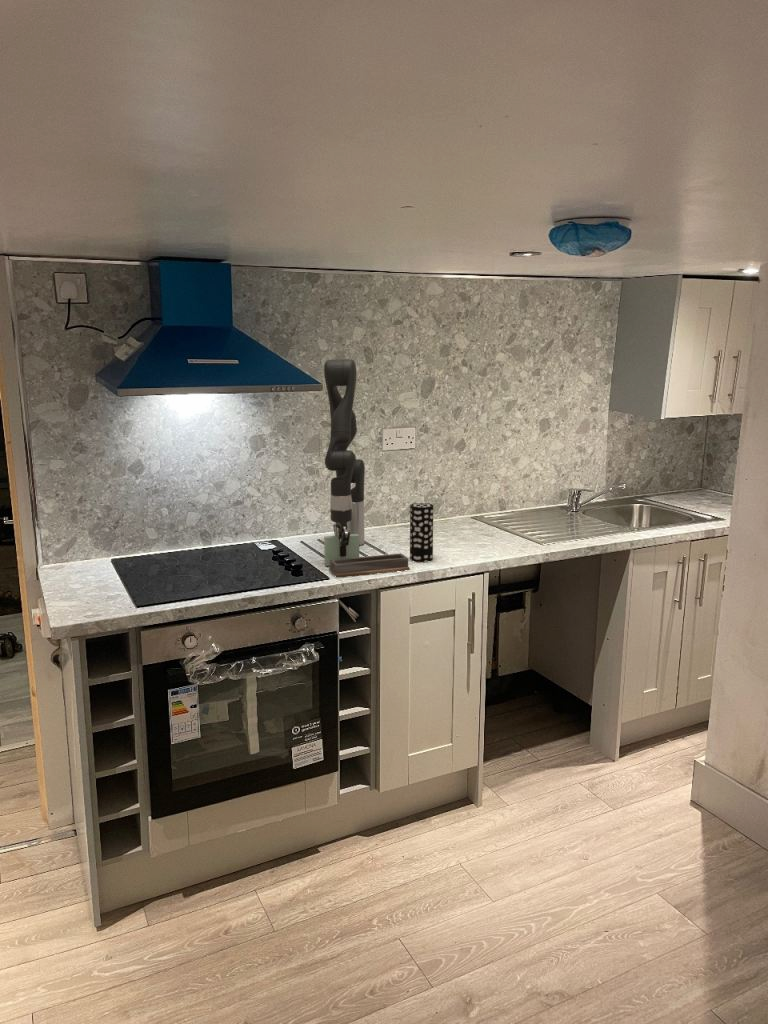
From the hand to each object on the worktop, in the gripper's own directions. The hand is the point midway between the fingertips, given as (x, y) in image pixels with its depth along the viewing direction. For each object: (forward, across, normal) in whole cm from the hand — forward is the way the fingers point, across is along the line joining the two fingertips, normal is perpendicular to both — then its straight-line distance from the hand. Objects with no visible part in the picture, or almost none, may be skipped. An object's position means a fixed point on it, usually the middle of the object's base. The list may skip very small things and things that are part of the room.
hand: (341, 554), depth 275 cm
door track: (+3, +10, +7) cm, 13 cm away
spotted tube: (+4, +3, +29) cm, 29 cm away
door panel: (+3, 0, 0) cm, 3 cm away
